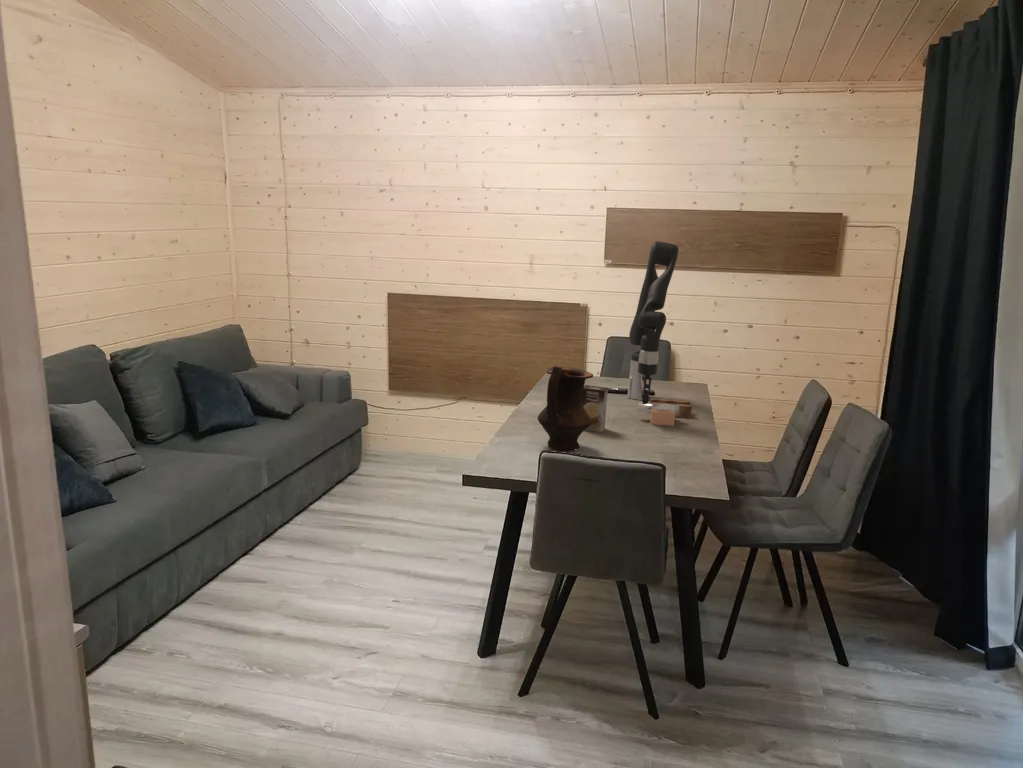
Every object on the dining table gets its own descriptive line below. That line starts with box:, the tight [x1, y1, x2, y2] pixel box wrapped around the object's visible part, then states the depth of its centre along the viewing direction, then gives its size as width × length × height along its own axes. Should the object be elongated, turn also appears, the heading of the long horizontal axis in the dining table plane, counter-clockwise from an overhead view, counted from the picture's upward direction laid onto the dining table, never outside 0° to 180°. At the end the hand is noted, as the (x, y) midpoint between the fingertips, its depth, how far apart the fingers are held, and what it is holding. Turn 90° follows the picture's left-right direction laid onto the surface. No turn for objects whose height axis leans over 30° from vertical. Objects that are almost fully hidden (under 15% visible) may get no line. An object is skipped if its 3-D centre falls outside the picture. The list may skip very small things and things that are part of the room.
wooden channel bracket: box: [650, 398, 693, 419], centre depth 302 cm, size 16×9×5 cm, turn 83°
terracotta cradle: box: [648, 410, 676, 427], centre depth 290 cm, size 9×11×5 cm
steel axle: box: [637, 401, 679, 415], centre depth 290 cm, size 16×4×4 cm, turn 83°
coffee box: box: [581, 384, 609, 433], centre depth 274 cm, size 9×6×16 cm
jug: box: [537, 364, 594, 452], centre depth 247 cm, size 21×18×30 cm
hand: (644, 401), depth 290 cm, fingers open, 8 cm apart
